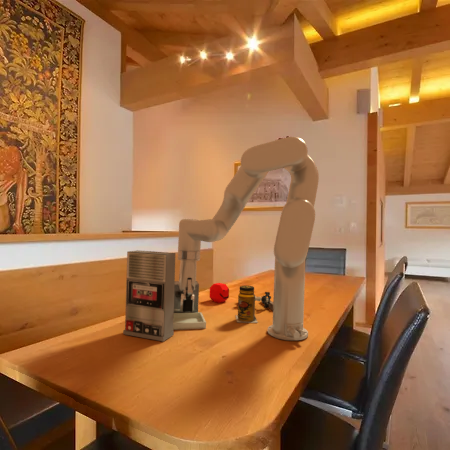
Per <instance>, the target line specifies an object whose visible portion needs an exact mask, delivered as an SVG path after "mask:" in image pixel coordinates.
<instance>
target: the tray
mask: <svg viewBox="0 0 450 450" xmlns="http://www.w3.org/2000/svg"><path fill="white" fill-rule="evenodd" d="M198 329H200V330H201V329H207V321H206V319H205V316H204V315H203V312H200V311H198V312H196V313H174V318H173V331H174V330H175V331H177V330H179V331H180V330H198Z"/></svg>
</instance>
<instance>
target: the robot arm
mask: <svg viewBox="0 0 450 450" xmlns="http://www.w3.org/2000/svg"><path fill="white" fill-rule="evenodd" d="M240 158H241V159H240V167H239V168H238V170H237V171H236V173H235V174H234V176H233V177H232V179H231V180H230V182H229V183H228V184H227V186H226V187H225V189H224V192H223V193H224V194H223V199H222V203H221V205H220V207H219V208H218V210H217V212H216V213H215V215H214V216H213V217H212V219H211V218H210V219H209V218H207V219H201V220H200V219H193V218H182V219H180V220H179V224H178V239H177V240H178V243H177V244H178V245H177V261H180V264H179V275H178V276H179V278H178V281H179V288H180V290H181V291H182V290H183V292H184V299H183V312H192V310H193V291H194V290H195V285H196V281H197V263H198V262H199V261H200V260H201V247H202V244H201V243H202V242H205V243H214V242H215V243H216V242H218V241H221V240H223V239H224V238H225V237H226V236H227V235H228V233H229V232H230V230H231V229H232V228H233V226H234V225H235V223H236V222H237V220H238V218H239V217H240V215H241V213H242V212H243V211H244V209H245V207H246V206H247V203H248V202H249V201H250V199H251V198H252V197H253V195H254V194H255V193H256V191H257V189H258V188H259V186H260V185H261V184H262V182H263V181H264V179H265V178H266V177H267V175H268V173H270V172H271V171H272V172H273V171H276V170H281V169H284V170H286V171H287V172H288V173H289V174H290V175H289V176H290V185H289V188H288V194H287V197H286V198H287V199H286V203H285V204H284V205H283V207H282V210H281V214H280V219H279V223H278V227H277V233H276V237H275V240H274V241H275V242H274V245H273V255H274V272H273V273H274V275H273V280H274V281H273V301H272V302H273V311H272V324H270V325H269V326H268V327H267V333H268V335H269V336H271V337H272V338H273V337H274V338H275V339H279V340H284V341H295V342H296V341H302V340H305V339H307V338H308V337H309V331H308V330H307V329H306V328H305V327H304V317H305V314H304V311H305V286H306V285H305V283H306V259H307V256H308V251H309V248H310V244H311V238H312V235H313V231H314V225H315V220H316V211H315V203H316V197H317V192H318V188H319V187H318V186H319V181H320V178H319V177H320V176H319V169H318V167H317V165H316V163H315V161H314V160H313V159H312V158H311V156H310V155H309V154H308V146H307V143H306V142H305V141H304V140H303V139H302V138H300V137H297V136H288V137H284V138H283V137H282V138H280V139H276V140H271V141H269V142H265V143H261V144H257V145H253V146H251V147H250V148H247V149H246V150H245V151H244V152H243V153H242V155H241V157H240ZM186 292H187V293H186Z"/></svg>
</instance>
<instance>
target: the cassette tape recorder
mask: <svg viewBox="0 0 450 450" xmlns="http://www.w3.org/2000/svg"><path fill="white" fill-rule="evenodd" d="M126 255H127V256H126V283H125V287H126V289H125V315H124V316H125V318H124V319H125V320H124V321H125V322H124V324H125V325H124V329H123V330H122V334H123V335H125V336H132V337H137V338H142V339H149V340H153V341H159V342H162V343H163V342H165V341H166V340H168V339H170V338H171V337H173V336H174V335H175V334H174V332H175V331H174V330H173V318H174V285H175V279H176V278H175V276H176V252H167V251H164V252H163V251H154V250H153V251H151V250H138V249H137V250H129V251H127V253H126Z"/></svg>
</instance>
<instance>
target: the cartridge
mask: <svg viewBox="0 0 450 450" xmlns="http://www.w3.org/2000/svg"><path fill="white" fill-rule="evenodd" d="M186 293H187V292H186ZM194 295H195V294H193V308H194ZM183 299H184V292H183V293H182V294H181V304H180V311H183ZM192 311H193V310H192Z"/></svg>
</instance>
